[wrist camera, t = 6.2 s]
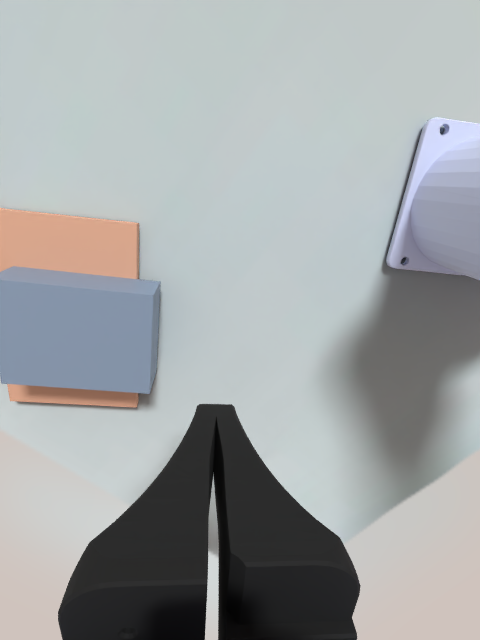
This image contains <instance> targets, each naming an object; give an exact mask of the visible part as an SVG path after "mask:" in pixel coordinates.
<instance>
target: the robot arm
mask: <svg viewBox="0 0 480 640" xmlns="http://www.w3.org/2000/svg"><path fill="white" fill-rule="evenodd" d="M442 125H443V126H444V128H445V131H444V133H443V134H442V135H441V134H440V127H441V126H442ZM404 257H406V261H405V262H404V263H403V264H401V260H402V258H404ZM386 262H387V265H388V266H390V267H392V268H396V269H405V270H415V271H425V272H435V273H445V274H455V275H464V276H469V277H471V278H474V279H477V280H479V281H480V124H477V123H471V122H464V121H458V120H451V119H445V118H432V119H430V120H428V121H427V122H426V123H425V124H424V126H423V129H422V133H421V136H420V140H419V144H418V147H417V151H416V154H415V158H414V162H413V165H412V169H411V172H410V176H409V180H408V183H407V187H406V190H405V194H404V197H403V201H402V205H401V208H400V212H399V215H398V219H397V223H396V226H395V230H394V233H393V237H392V241H391V244H390V248H389V251H388V255H387V259H386ZM213 473H214V485H215V497H216V509H217V521H218V536H219V621H218V622H219V623H218V624H219V625H218V626H219V627H218V628H219V629H218V631H219V632H218V634H219V635H218V640H357V633H356V630H355V627H354V623H353V620H352V615H353V612H354V609H355V606H356V603H357V600H358V597H359V593H360V584H359V580H358V576H357V573H356V570H355V568H354V565H353V563H352V561H351V559H350V557H349V555H348V553H347V551H346V549H345V547H344V545H343V543H342V541H341V539H340V538H339V537H338V536H337V535H336V534H334V533H333V532H332V531H331V530H329V529H328V528H327V527H325V526H324V525H323V524H322V523H320V522H319V521H318V520H316V519H315V518H314V517H313V516H312V515H311V514H309V513H308V512H307V511H306V510H305V509H304V508H303V507H302V506H301V505H300V504H299V503H298V502H297V501H296V500H295V499H294V498H293V497H292V496H291V495H290V494H289V493H288V492H287V491H286V490H285V489H284V488H283V486H282V485H281V484H280V483H279V482H278V481H277V479H276V478H275V477H274V476H273V474H272V473H271V472H270V471H269V469H268V468H267V467H266V465H265V464H264V462H263V461H262V460H261V458H260V457H259V455H258V454H257V452H256V450H255V449H254V447H253V446H252V444H251V442H250V440H249V439H248V437H247V435H246V433H245V431H244V429H243V427H242V425H241V423H240V421H239V419H238V416H237V414H236V411H235V408H234V406H233V405H225V404H200V405H198V406H197V409H196V412H195V415H194V418H193V420H192V422H191V424H190V427H189V429H188V430H187V432H186V434H185V436H184V438H183V440H182V442H181V443H180V445H179V447H178V448H177V450H176V451H175V453H174V454H173V456H172V458H171V459H170V461H169V462H168V463H167V465H166V466H165V468H164V469H163V470H162V472H161V473H160V474H159V475H158V477H157V478H156V479H155V480H154V481H153V483H152V484H151V485H150V486H149V487H148V489H147V490H146V491H145V492H144V493H143V494H142V495H141V496H140V497H139V498H138V500H136V501H135V502H134V503H133V504H132V505H131V506H130V507H129V508H128V509H127V510H126V511H125V512H124V513H123V514H122V515H121V516H120V517H119V518H118V519H117V520H116V521H115V522H114V523H112V524H111V525H110V526H109V527H108V528H106V529H105V530H104V531H103V532H102V533H100V534H99V535H98V536H97V537H96V538H94V539H93V540H92V541H91V542H90V543H89V544H88V546H87V548H86V550H85V551H84V553H83V555H82V556H81V558H80V560H79V562H78V564H77V566H76V568H75V570H74V572H73V574H72V576H71V578H70V581H69V583H68V586H67V589H66V592H65V594H64V597H63V600H62V603H61V605H60V609H59V611H58V621H59V626H60V630H61V634H62V639H63V640H205V621H206V601H207V579H208V577H207V576H208V515H209V506H210V498H211V489H212V480H213Z"/></svg>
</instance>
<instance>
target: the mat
mask: <svg viewBox="0 0 480 640" xmlns="http://www.w3.org/2000/svg"><path fill="white" fill-rule="evenodd" d="M13 266H17V267H27V268H36V269H45V270H55V271H64V272H74V273H83V274H92V275H102V276H111V277H121V278H130V279H139V223H133V222H124V221H115V220H105V219H96V218H87V217H77V216H68V215H59V214H49V213H40V212H31V211H22V210H12V209H3V208H0V272H1V271H3V270H6V269H8V268H10V267H13ZM7 385H8V391H9V397H10V401H21V402H41V403H60V404H79V405H99V406H118V407H137V405H138V393H131V392H117V391H102V390H88V389H74V388H59V387H45V386H30V385H16V384H7Z"/></svg>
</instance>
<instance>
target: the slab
mask: <svg viewBox="0 0 480 640" xmlns="http://www.w3.org/2000/svg"><path fill="white" fill-rule="evenodd" d="M160 283H161V282H158V281H149V280H139V279H130V278H121V277H111V276H102V275H92V274H83V273H74V272H64V271H55V270H45V269H36V268H27V267H17V266H13V267H10V268H8V269H6V270H3V271H1V272H0V377H1V383H2V384H16V385H30V386H45V387H59V388H74V389H88V390H102V391H117V392H131V393H145V394H150V391H151V387H152V384H153V381H154V378H155V374H156V370H157V348H158V326H159V304H160Z"/></svg>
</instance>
